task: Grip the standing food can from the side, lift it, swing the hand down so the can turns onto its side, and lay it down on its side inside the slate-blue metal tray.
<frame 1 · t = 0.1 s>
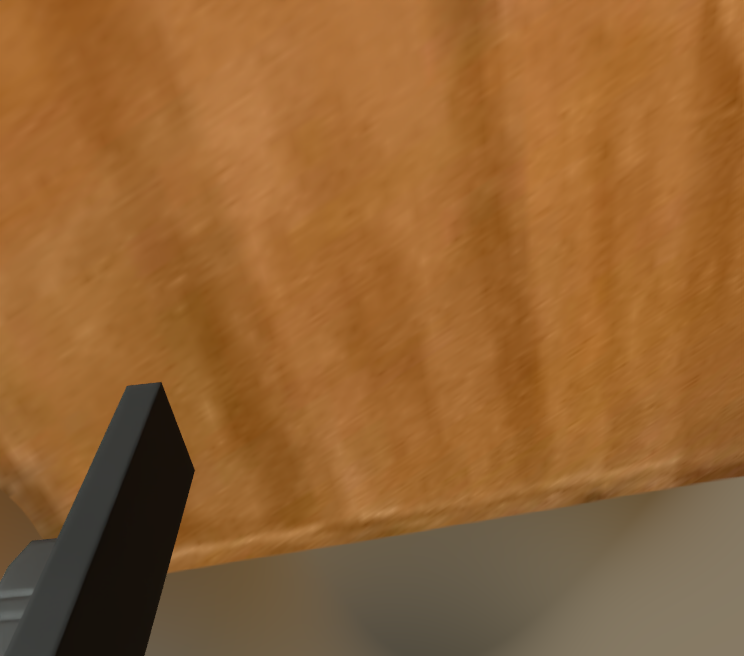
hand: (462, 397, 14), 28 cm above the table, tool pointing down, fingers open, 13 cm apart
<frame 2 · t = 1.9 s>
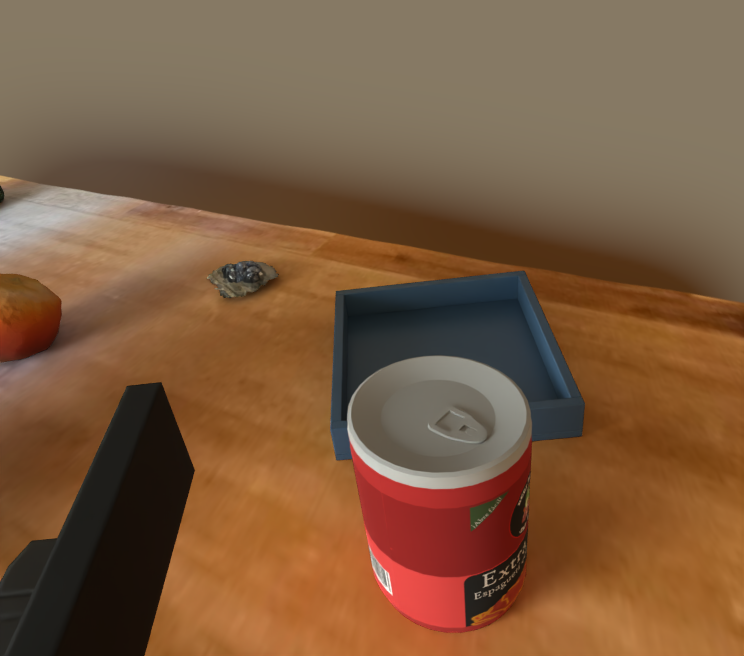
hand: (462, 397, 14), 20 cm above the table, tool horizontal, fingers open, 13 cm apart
fruit: (27, 349, 56), on the table
canned food: (448, 569, 34), on the table
tray: (443, 368, 47), on the table
grey mineral rock: (239, 283, 62), on the table
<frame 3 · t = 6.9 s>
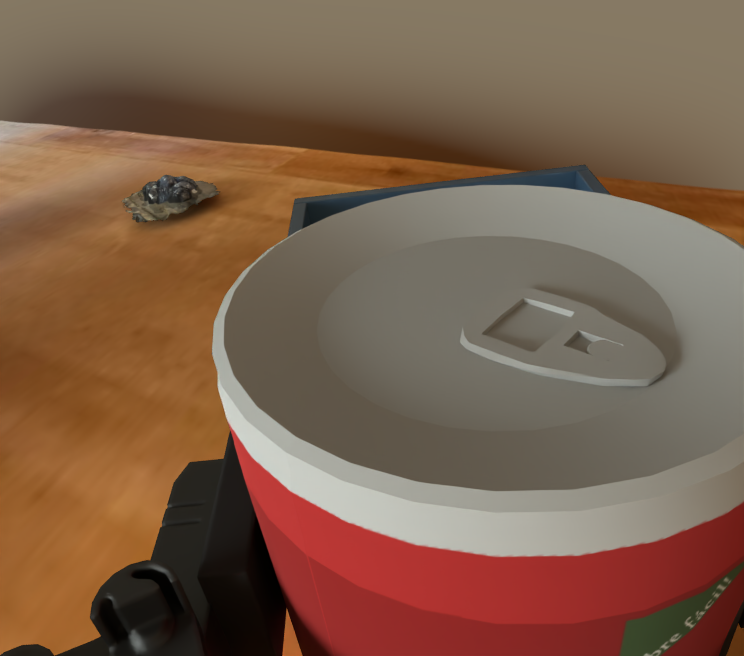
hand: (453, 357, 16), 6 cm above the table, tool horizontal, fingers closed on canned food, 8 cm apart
tray: (462, 306, 29), on the table
grey mineral rock: (166, 207, 43), on the table
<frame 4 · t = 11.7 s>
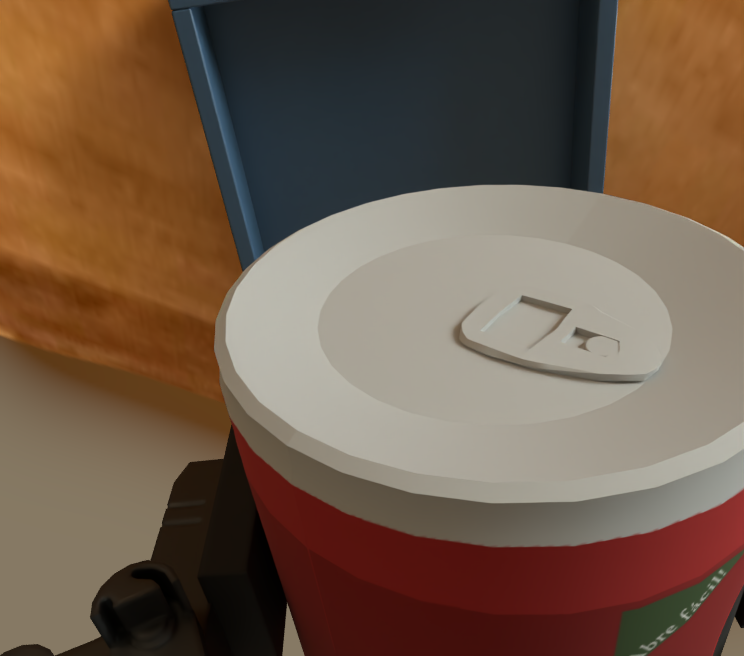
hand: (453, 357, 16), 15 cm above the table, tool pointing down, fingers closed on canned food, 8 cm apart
tray: (408, 163, 28), on the table
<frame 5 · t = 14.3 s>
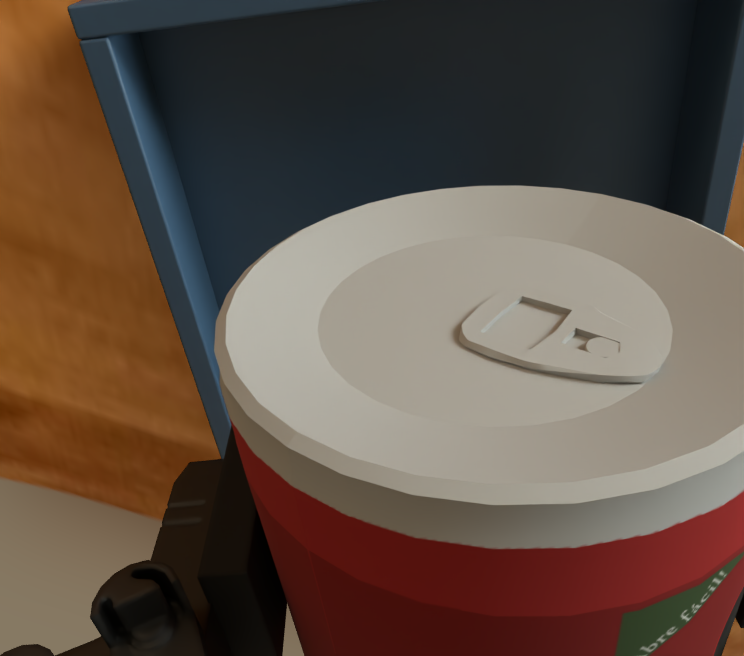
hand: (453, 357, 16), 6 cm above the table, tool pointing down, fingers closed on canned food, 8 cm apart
tray: (431, 248, 20), on the table
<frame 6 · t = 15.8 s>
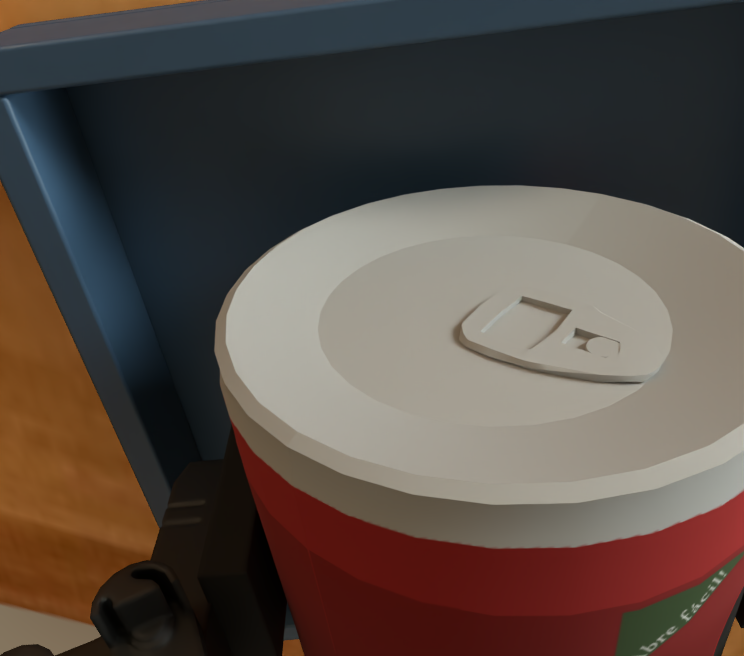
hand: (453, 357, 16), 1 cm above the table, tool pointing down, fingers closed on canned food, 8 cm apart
tray: (451, 339, 16), on the table
when the fingers open (1 cm above the table, at t = 21.8 s): canned food drops 2 cm, resting on tray.
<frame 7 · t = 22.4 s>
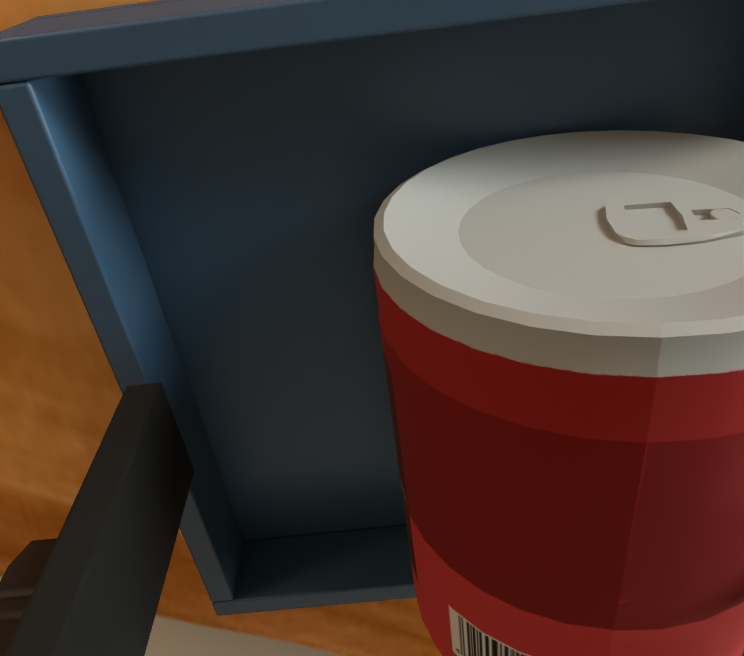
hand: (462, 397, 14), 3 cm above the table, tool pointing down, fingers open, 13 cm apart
canned food: (569, 599, 17), point 4 cm above the table, touching gripper, tray
tray: (444, 317, 17), on the table
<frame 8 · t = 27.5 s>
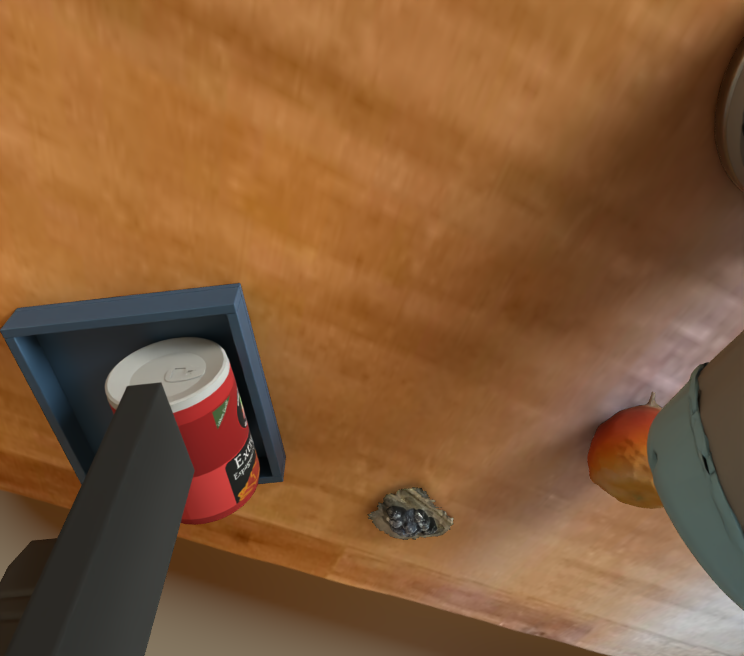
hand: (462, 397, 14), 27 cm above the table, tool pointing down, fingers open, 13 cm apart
fruit: (626, 426, 52), on the table
canned food: (209, 488, 48), point 4 cm above the table, touching tray
tray: (163, 388, 48), on the table
grey mineral rock: (414, 511, 57), on the table
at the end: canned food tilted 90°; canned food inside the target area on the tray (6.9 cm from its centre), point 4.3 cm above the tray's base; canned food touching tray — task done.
